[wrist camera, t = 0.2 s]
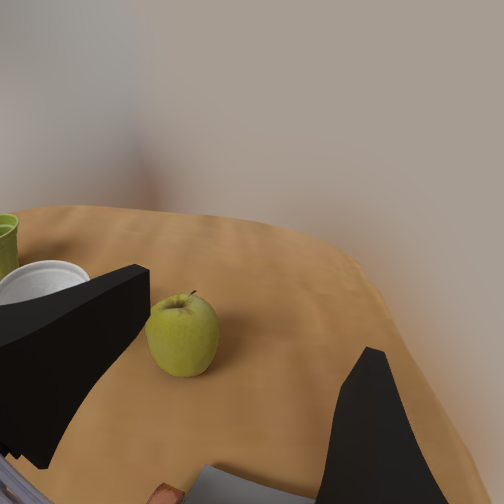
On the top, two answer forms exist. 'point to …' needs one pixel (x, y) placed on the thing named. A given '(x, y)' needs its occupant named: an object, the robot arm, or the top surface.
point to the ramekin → (40, 280)
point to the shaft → (166, 495)
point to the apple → (183, 334)
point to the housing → (236, 491)
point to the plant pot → (8, 244)
